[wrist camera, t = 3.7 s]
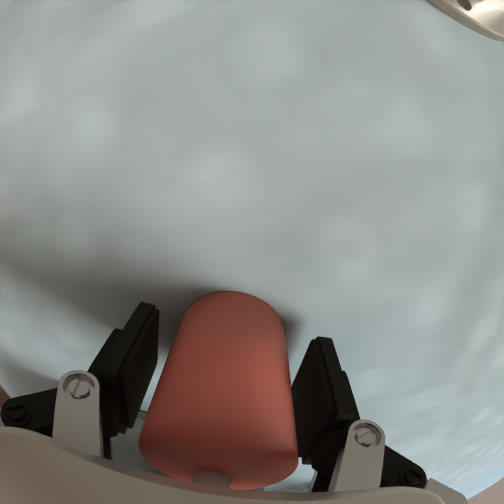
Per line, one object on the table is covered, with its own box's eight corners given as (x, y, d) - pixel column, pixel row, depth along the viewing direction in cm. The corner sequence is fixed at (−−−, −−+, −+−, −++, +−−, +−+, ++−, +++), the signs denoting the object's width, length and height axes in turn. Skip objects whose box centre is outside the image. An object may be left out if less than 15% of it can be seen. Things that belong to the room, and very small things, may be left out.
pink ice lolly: (185, 280, 11) (110, 453, 4) (297, 303, 11) (332, 485, 4) (177, 362, 13) (133, 509, 6) (270, 380, 13) (274, 530, 6)
